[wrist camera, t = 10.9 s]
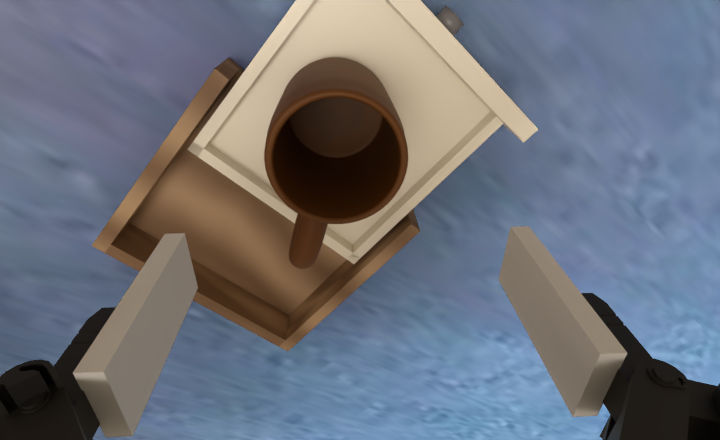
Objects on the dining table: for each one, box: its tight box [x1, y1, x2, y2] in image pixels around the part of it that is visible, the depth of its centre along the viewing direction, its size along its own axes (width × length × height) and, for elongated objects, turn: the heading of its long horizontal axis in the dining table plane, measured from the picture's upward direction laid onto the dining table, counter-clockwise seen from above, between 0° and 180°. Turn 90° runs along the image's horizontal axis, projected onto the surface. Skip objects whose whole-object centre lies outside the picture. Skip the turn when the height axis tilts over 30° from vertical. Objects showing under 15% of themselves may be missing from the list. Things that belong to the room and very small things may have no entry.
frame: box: [92, 58, 420, 351], centre depth 33 cm, size 17×18×4 cm
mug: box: [264, 57, 408, 269], centre depth 26 cm, size 12×8×9 cm, turn 161°
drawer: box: [187, 0, 538, 264], centre depth 29 cm, size 18×18×5 cm
